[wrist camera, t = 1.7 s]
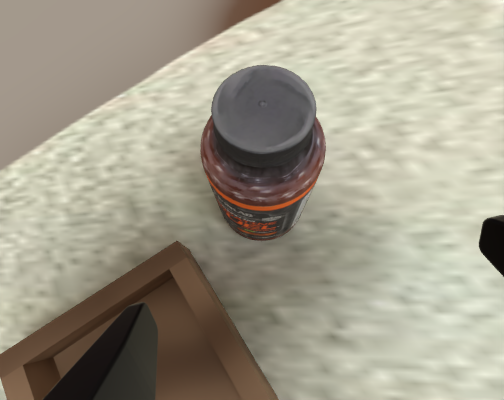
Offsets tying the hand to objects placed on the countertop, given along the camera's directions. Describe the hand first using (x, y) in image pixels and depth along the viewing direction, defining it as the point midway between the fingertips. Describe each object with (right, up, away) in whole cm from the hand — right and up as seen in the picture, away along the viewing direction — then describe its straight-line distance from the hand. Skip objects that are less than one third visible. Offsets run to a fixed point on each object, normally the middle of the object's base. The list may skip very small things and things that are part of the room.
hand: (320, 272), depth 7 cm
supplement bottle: (-1, +2, +14) cm, 14 cm away
